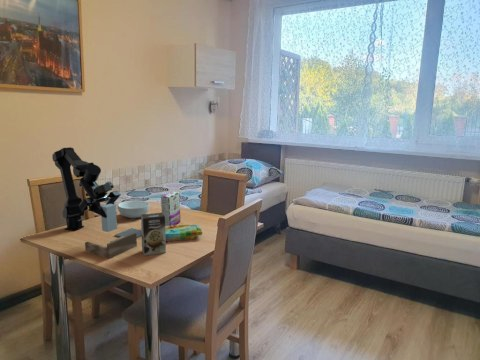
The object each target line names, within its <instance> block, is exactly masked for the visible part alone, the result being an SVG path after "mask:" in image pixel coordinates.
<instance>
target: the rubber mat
mask: <svg viewBox="0 0 480 360" xmlns="http://www.w3.org/2000/svg"><path fill="white" fill-rule="evenodd" d="M132 233H136V237H137V239H138V238H142V229H137V228H132V227H131V228H128V229H125V230H124V231H121V232H119V233H116V234H114V237H117V238H120V237H122V236H127V235H130V234H132Z"/></svg>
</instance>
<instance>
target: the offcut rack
mask: <svg viewBox="0 0 480 360" xmlns="http://www.w3.org/2000/svg"><path fill="white" fill-rule="evenodd" d="M137 241H138V238H137V237H136V233H132V234H130V235H127V236H122V237H117V238H115V239H113V240H110V242H109V243H106V246H104V245H101V244H96V243H94V242H89V241H85V242H84V247H85V249H84V251H85V252H86V253H89V254H93V255H96V256H99V257H103V258H107V259H113V258H114V257H117V256H119V255H121V254H123V253H126V252H127V251H129V250H131V249H134V248H135V247H138V242H137Z"/></svg>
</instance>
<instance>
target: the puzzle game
mask: <svg viewBox="0 0 480 360" xmlns="http://www.w3.org/2000/svg"><path fill="white" fill-rule="evenodd" d="M202 235H203V231H202V228H201V226H200V224H199V223H195V224H194V223H193V224H191V223H190V224H176V225H171V226H165V236H166V242H172V241H174V242H175V241H185V240H194V239H195V237H199V236H202Z"/></svg>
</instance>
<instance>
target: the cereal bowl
mask: <svg viewBox="0 0 480 360" xmlns="http://www.w3.org/2000/svg"><path fill="white" fill-rule="evenodd" d="M117 209H118V212H119V214H120V215H122V216H123V217H126V218H127V219H137V218H141V214H148V213H149V211H150V203H149V202H148V201H144V200H128V201H127V200H126V201H123V202H120V203H118V204H117Z"/></svg>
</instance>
